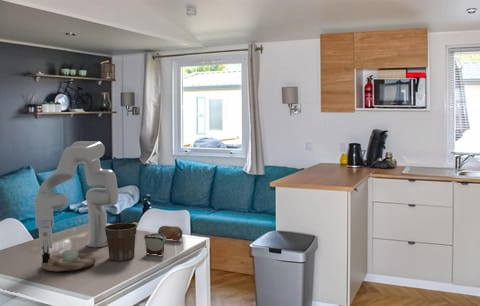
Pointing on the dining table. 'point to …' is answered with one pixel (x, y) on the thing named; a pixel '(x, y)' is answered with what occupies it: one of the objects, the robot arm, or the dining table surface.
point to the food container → (155, 243)
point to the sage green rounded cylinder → (70, 256)
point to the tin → (171, 232)
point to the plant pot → (121, 240)
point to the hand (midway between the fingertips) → (46, 262)
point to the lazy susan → (58, 265)
